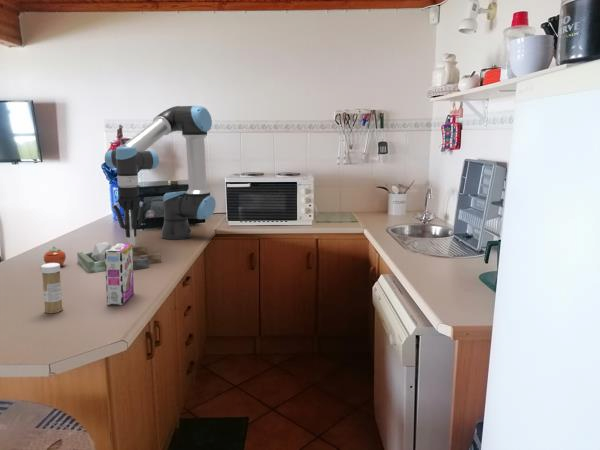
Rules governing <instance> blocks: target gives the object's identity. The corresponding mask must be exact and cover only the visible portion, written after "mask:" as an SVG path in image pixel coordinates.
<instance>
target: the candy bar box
mask: <svg viewBox="0 0 600 450" xmlns="http://www.w3.org/2000/svg"><path fill="white" fill-rule="evenodd" d="M112 246H113V247H111V248H109V249H108V250H106V251H105V266H106V271H105V285H106V291H105V292H106V306H124V305H125V303H127V301H128V300H129V299H130V298H131V297H132V296H133V295H134V293H135V291H134V290H135V289H134V288H135V287H134V285H135V284H134V270H133V260H134V258H133V257H134V256H133V248H132V247H133V246H132V244H129V243H116V244H114V245H112Z"/></svg>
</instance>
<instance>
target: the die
mask: <svg viewBox="0 0 600 450" xmlns="http://www.w3.org/2000/svg"><path fill="white" fill-rule="evenodd" d="M113 246H114V245H111V244H110V243H109V242H107V241H103V242H100V243H96V244H95V245H94V248H93V251H92V252H93V253H92V256H91V257H92V258H94V259H95V260H97V261H96V262H99V261H105V251H106V250H108V249H109V248H111V247H113Z"/></svg>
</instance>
